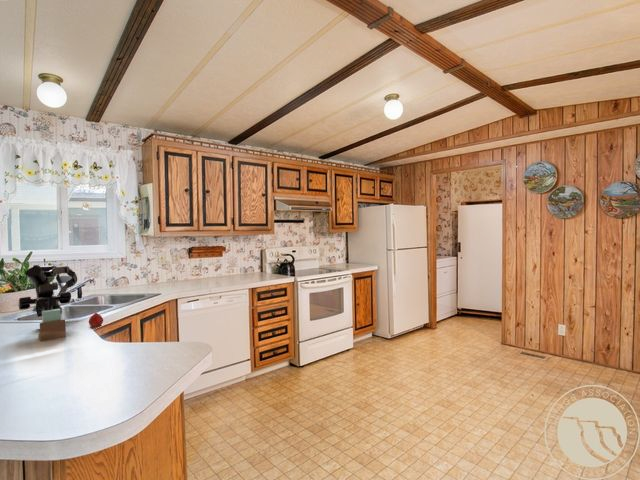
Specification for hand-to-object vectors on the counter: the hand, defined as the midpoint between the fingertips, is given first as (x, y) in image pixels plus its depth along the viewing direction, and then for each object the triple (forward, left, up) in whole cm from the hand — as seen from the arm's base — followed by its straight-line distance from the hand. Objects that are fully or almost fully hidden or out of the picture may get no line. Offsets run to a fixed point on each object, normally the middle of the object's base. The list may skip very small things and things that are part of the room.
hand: (48, 315), depth 155 cm
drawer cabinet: (+5, 0, -10) cm, 11 cm away
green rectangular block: (+9, 0, -8) cm, 12 cm away
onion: (+2, +18, -10) cm, 20 cm away
